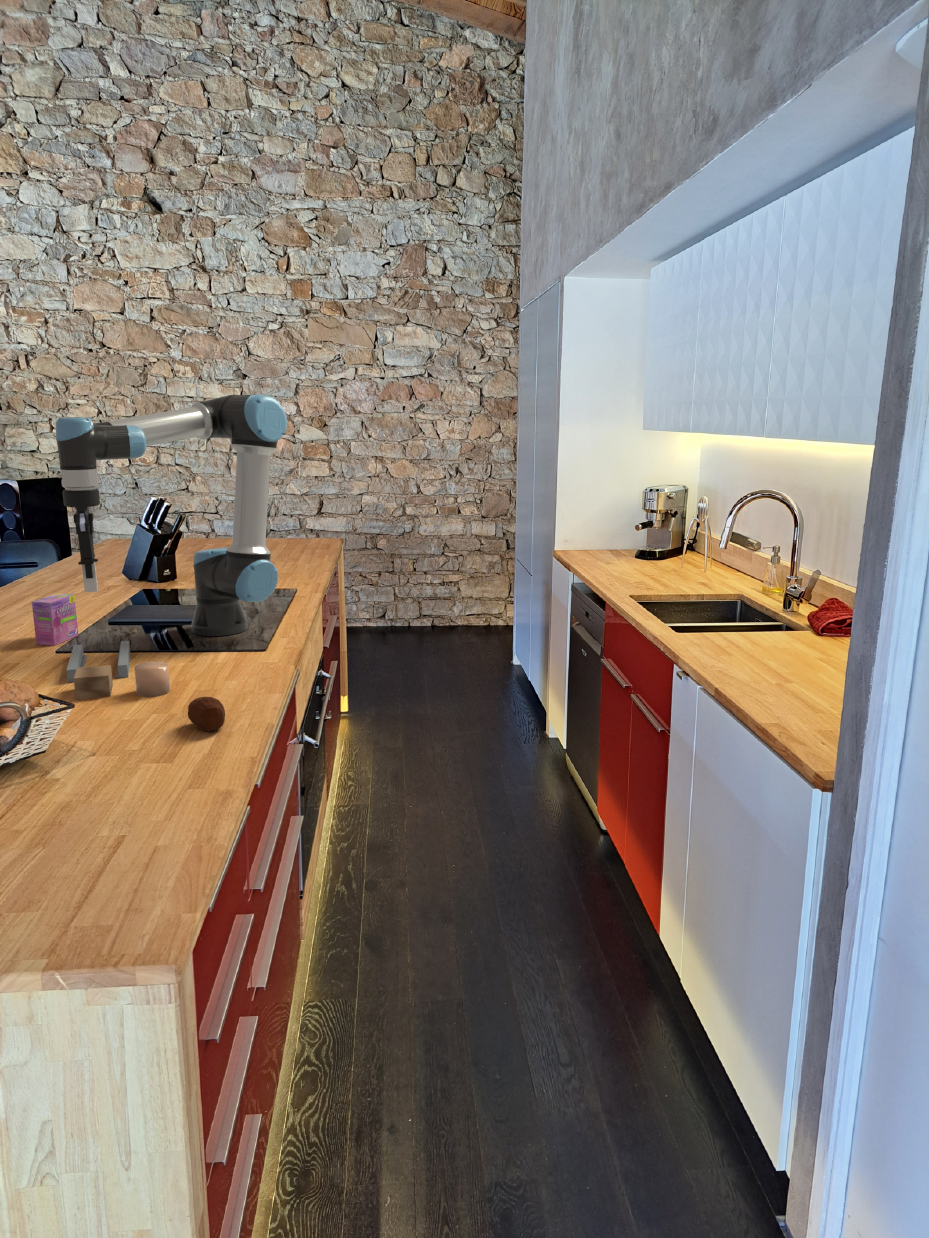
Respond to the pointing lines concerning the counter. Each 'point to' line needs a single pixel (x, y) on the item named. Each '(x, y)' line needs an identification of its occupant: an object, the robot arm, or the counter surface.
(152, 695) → the marshmallow
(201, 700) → the potato
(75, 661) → the chute
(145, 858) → the counter surface
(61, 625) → the box
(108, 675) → the block
